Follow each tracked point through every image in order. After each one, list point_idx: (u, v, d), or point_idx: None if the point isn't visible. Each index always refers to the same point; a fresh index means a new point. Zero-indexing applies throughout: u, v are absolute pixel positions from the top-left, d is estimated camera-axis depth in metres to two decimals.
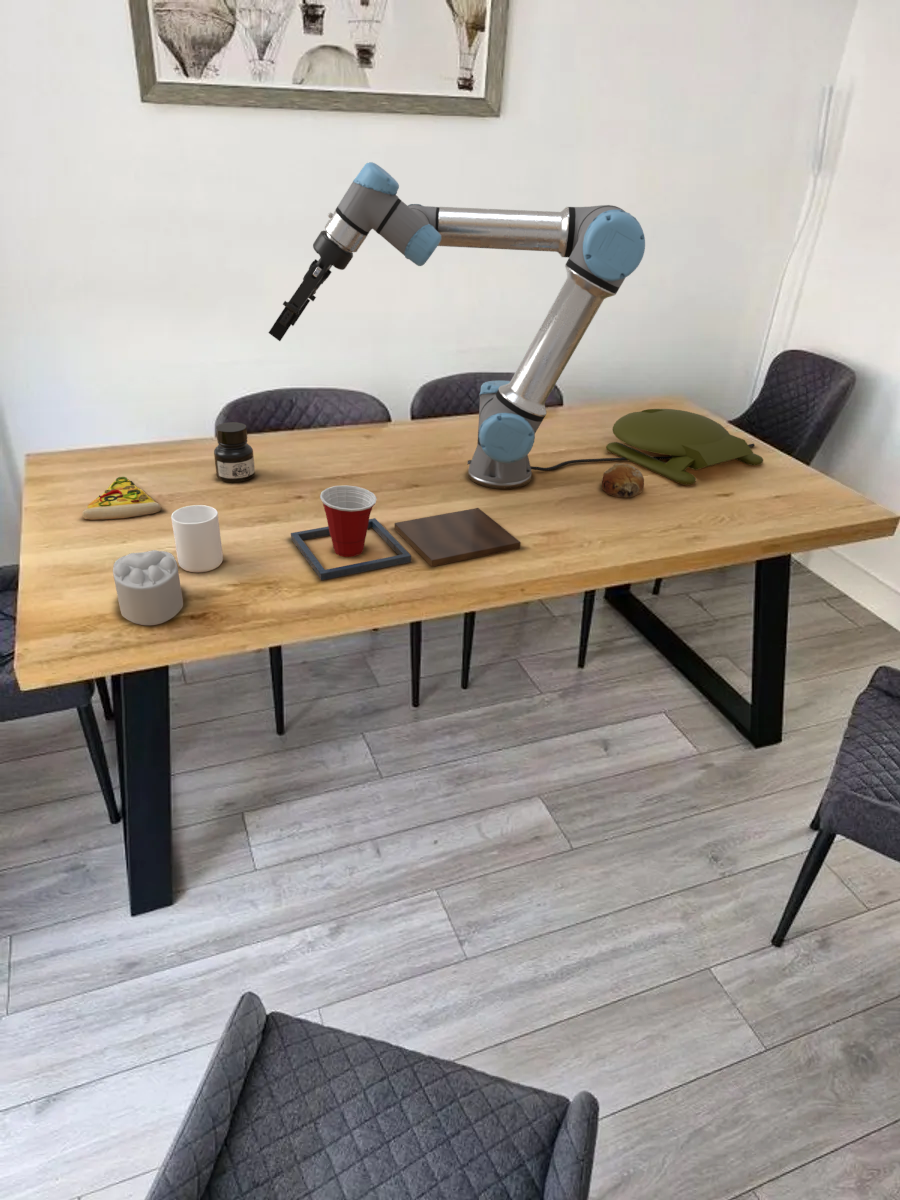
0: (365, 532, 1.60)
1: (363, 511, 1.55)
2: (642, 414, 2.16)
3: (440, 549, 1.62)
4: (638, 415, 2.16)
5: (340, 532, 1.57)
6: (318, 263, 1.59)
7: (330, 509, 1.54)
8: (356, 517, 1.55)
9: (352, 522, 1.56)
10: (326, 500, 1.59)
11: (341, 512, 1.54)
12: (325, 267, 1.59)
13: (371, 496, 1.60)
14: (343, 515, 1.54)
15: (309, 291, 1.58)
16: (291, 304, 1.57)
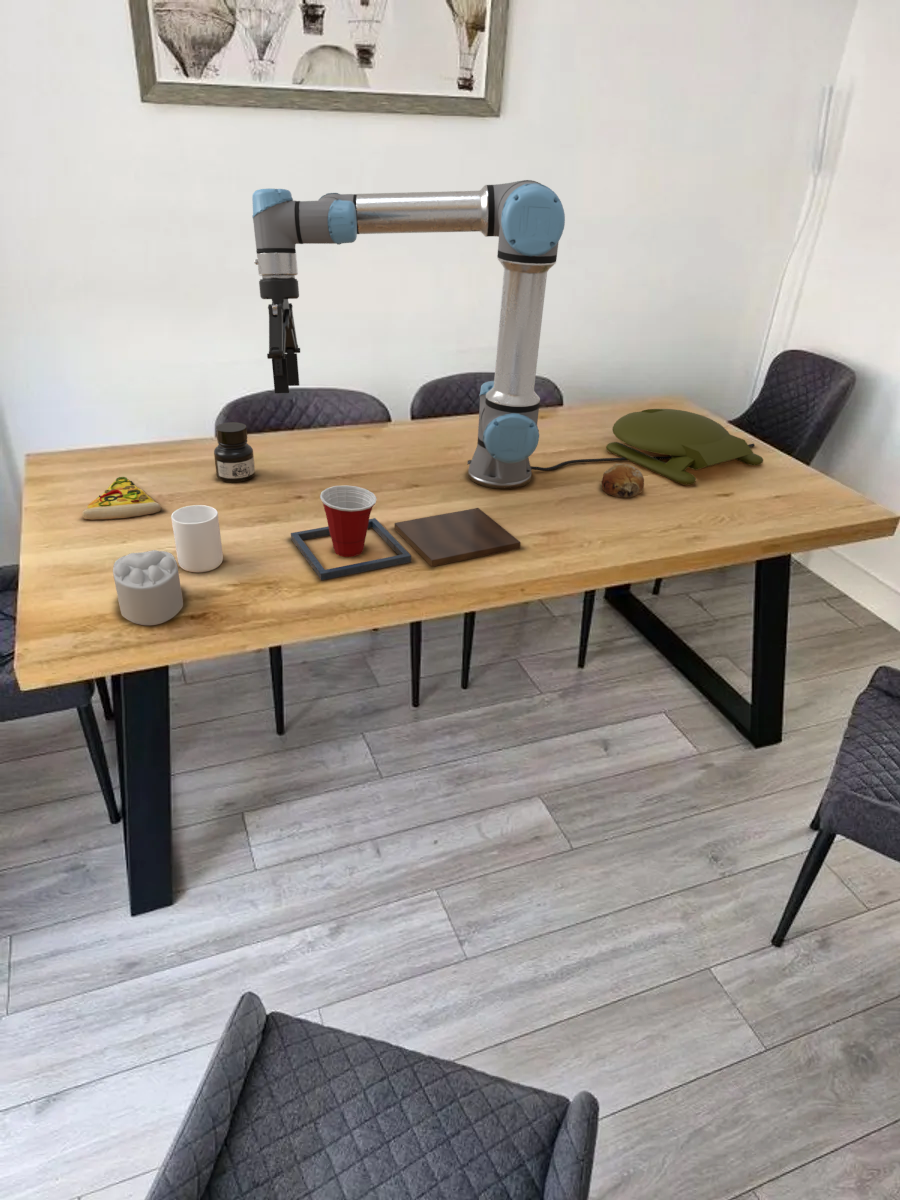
0: (365, 532, 1.60)
1: (363, 511, 1.55)
2: (642, 414, 2.16)
3: (440, 549, 1.62)
4: (638, 415, 2.16)
5: (340, 532, 1.57)
6: None
7: (330, 509, 1.54)
8: (356, 517, 1.55)
9: (352, 522, 1.56)
10: (326, 500, 1.59)
11: (341, 512, 1.54)
12: (280, 303, 1.58)
13: (371, 496, 1.60)
14: (343, 515, 1.54)
15: (279, 329, 1.56)
16: (272, 350, 1.55)
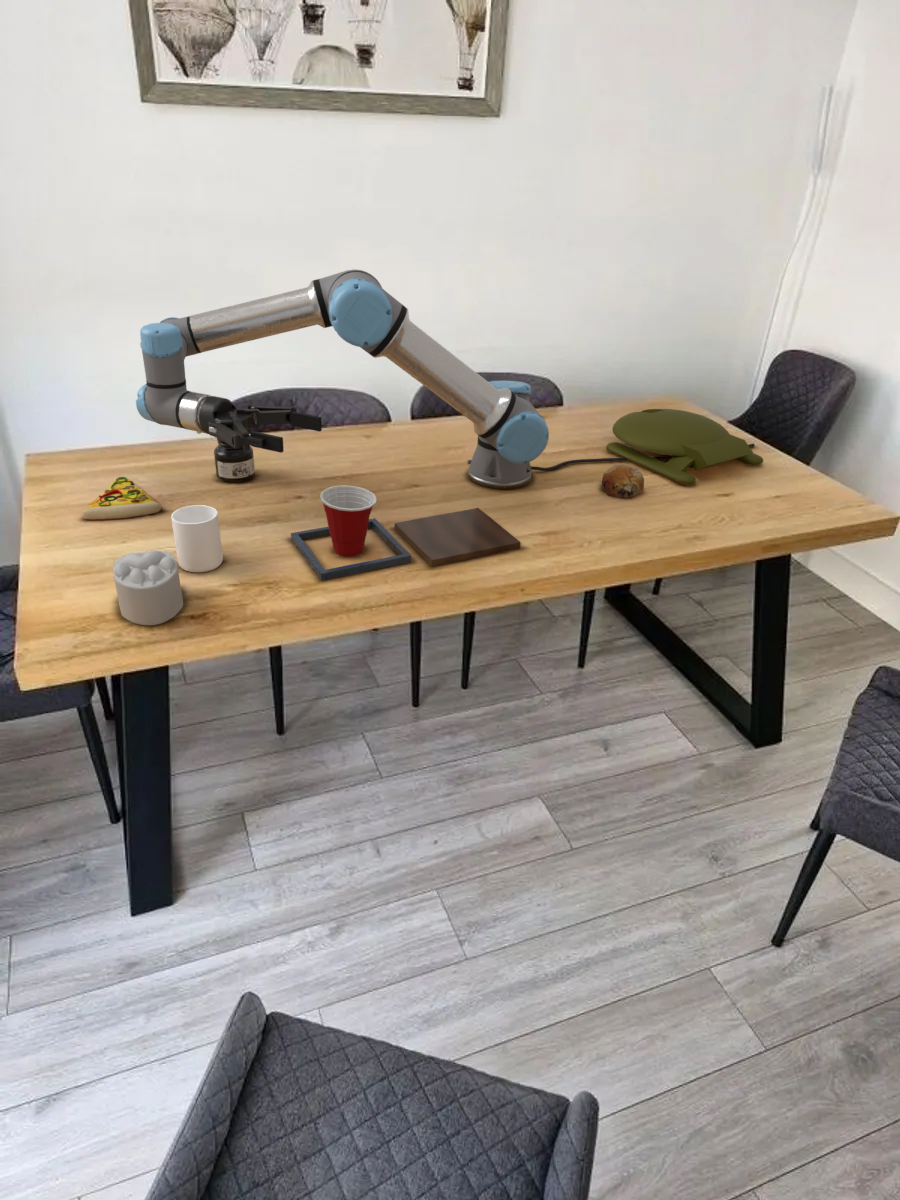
0: (365, 532, 1.60)
1: (363, 511, 1.55)
2: (642, 414, 2.16)
3: (440, 549, 1.62)
4: (638, 415, 2.16)
5: (340, 532, 1.57)
6: None
7: (330, 509, 1.54)
8: (356, 517, 1.55)
9: (352, 522, 1.56)
10: (326, 500, 1.59)
11: (341, 512, 1.54)
12: (217, 420, 1.57)
13: (371, 496, 1.60)
14: (343, 515, 1.54)
15: (222, 430, 1.52)
16: (234, 444, 1.50)
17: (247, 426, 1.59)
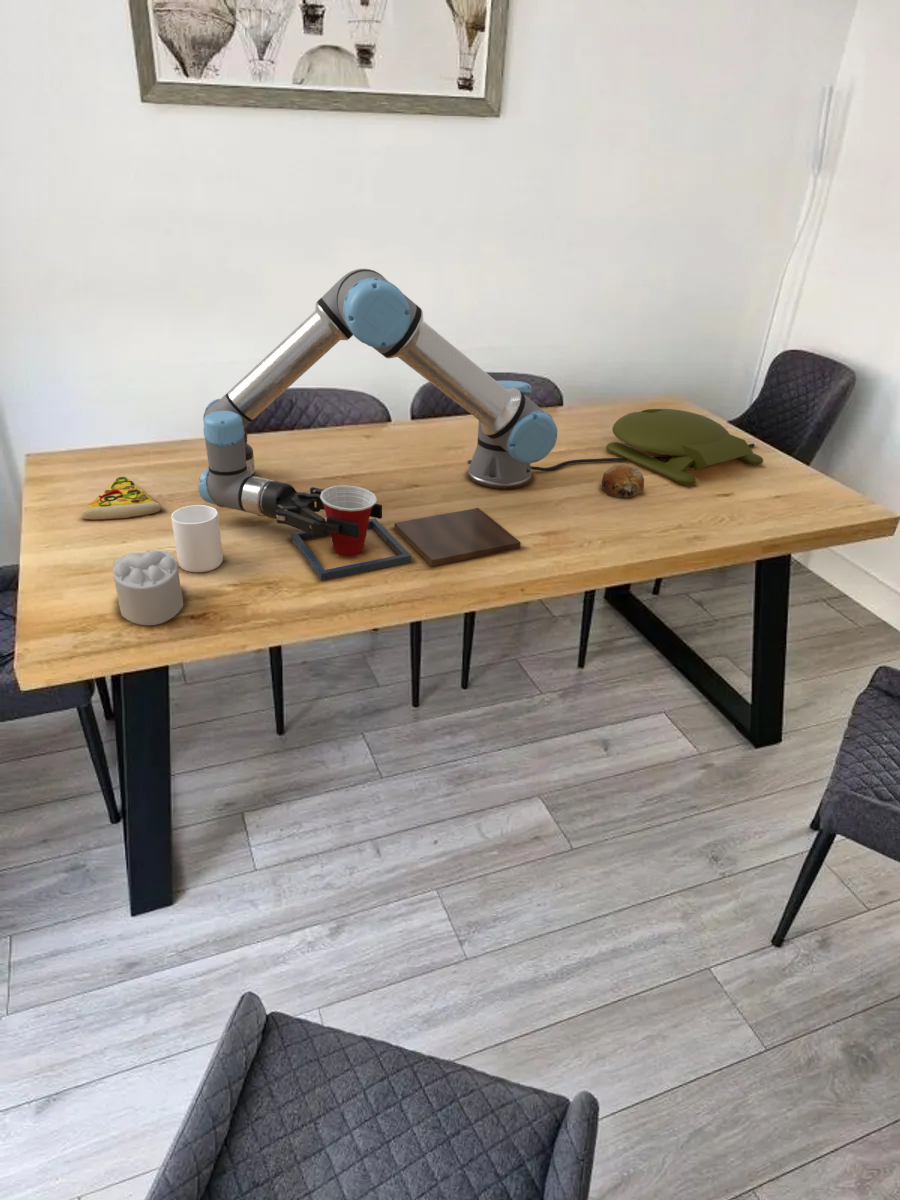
0: (365, 532, 1.60)
1: (363, 510, 1.55)
2: (642, 414, 2.16)
3: (440, 549, 1.62)
4: (638, 415, 2.16)
5: None
6: None
7: (330, 509, 1.54)
8: (356, 517, 1.55)
9: (352, 521, 1.56)
10: (326, 500, 1.59)
11: (341, 512, 1.54)
12: (279, 507, 1.60)
13: (371, 496, 1.60)
14: (343, 515, 1.54)
15: (295, 518, 1.56)
16: (311, 530, 1.54)
17: None
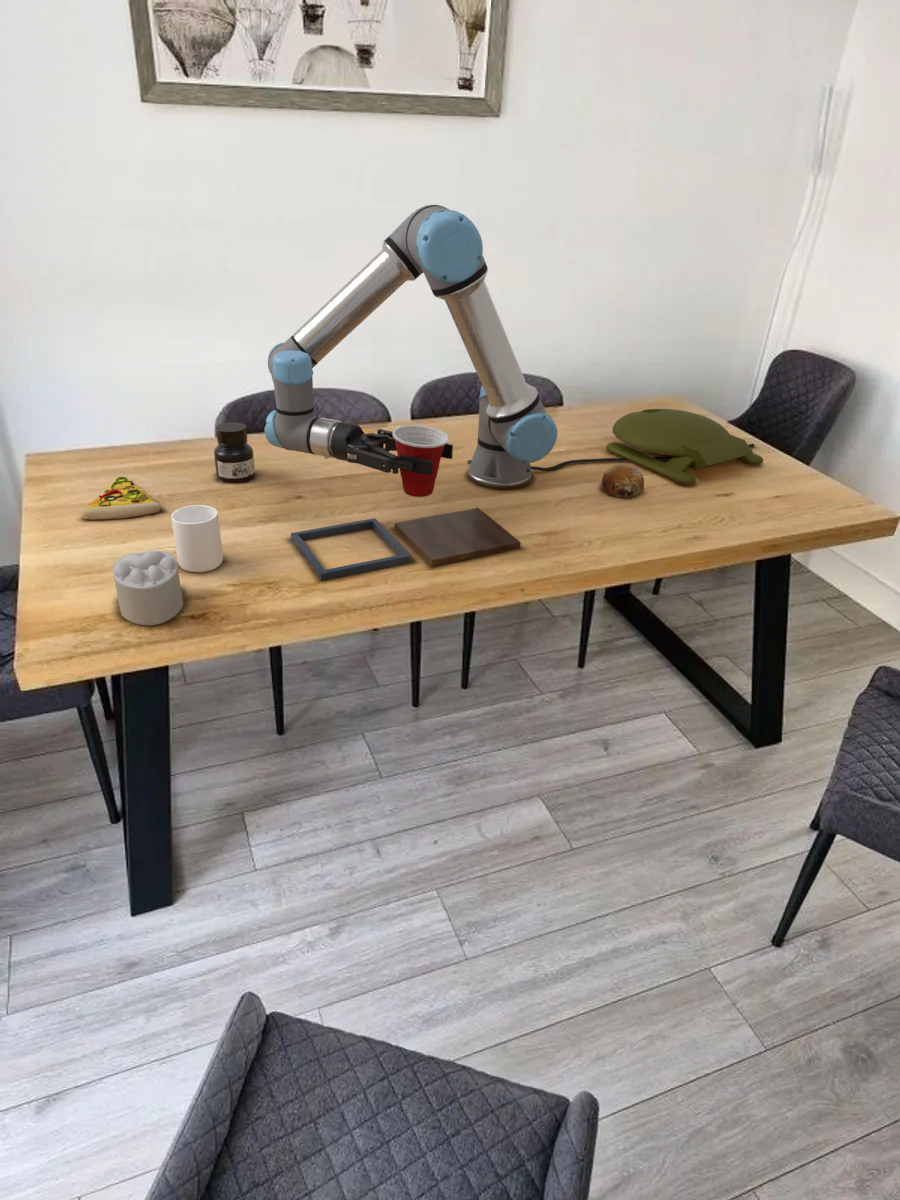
0: (436, 472, 1.58)
1: (437, 448, 1.53)
2: (642, 414, 2.16)
3: (440, 549, 1.62)
4: (638, 415, 2.16)
5: None
6: None
7: (403, 446, 1.53)
8: (429, 454, 1.53)
9: None
10: None
11: (415, 449, 1.52)
12: (350, 446, 1.58)
13: (442, 435, 1.58)
14: (417, 452, 1.53)
15: (367, 456, 1.54)
16: (384, 468, 1.53)
17: None
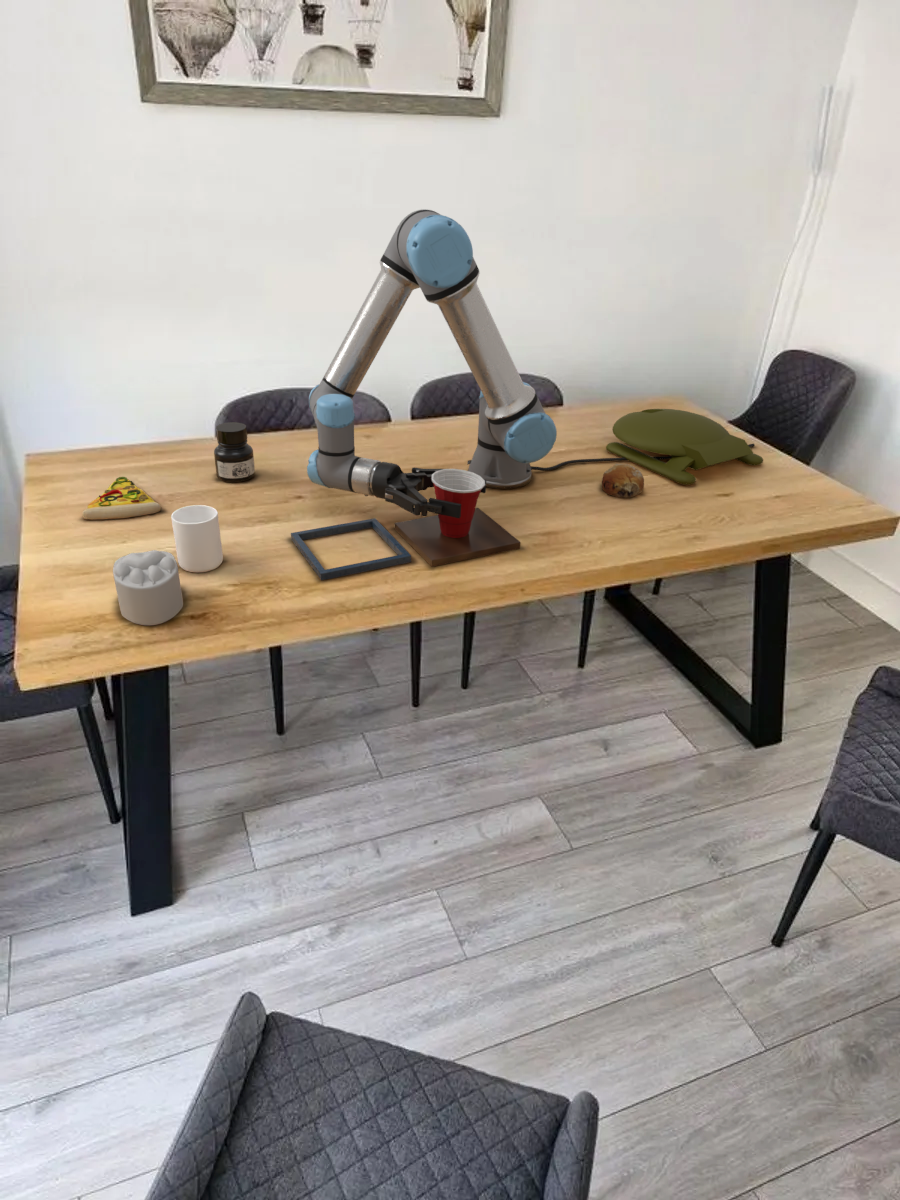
0: (473, 514, 1.65)
1: (474, 492, 1.60)
2: (642, 414, 2.16)
3: (440, 549, 1.62)
4: (638, 415, 2.16)
5: None
6: None
7: (442, 491, 1.60)
8: (467, 499, 1.61)
9: (463, 503, 1.61)
10: (435, 483, 1.64)
11: (454, 494, 1.59)
12: (390, 486, 1.65)
13: (478, 479, 1.65)
14: (455, 497, 1.60)
15: (401, 498, 1.60)
16: (414, 511, 1.58)
17: (417, 490, 1.67)
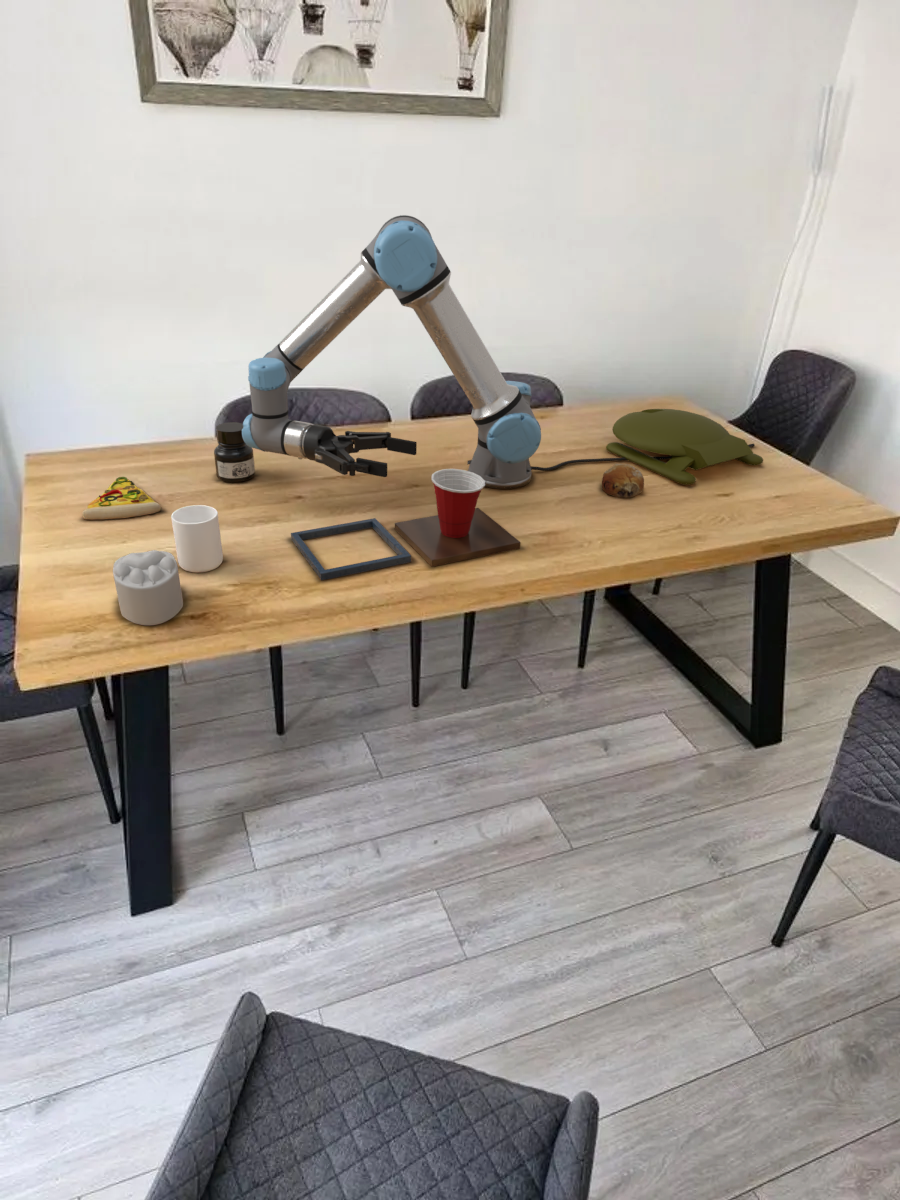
0: (473, 514, 1.65)
1: (474, 492, 1.60)
2: (642, 414, 2.16)
3: (440, 549, 1.62)
4: (638, 415, 2.16)
5: (450, 513, 1.63)
6: None
7: (442, 491, 1.60)
8: (467, 499, 1.61)
9: (463, 503, 1.61)
10: (435, 483, 1.64)
11: (454, 494, 1.59)
12: (321, 448, 1.68)
13: (478, 479, 1.65)
14: (455, 497, 1.60)
15: (329, 458, 1.63)
16: (341, 470, 1.61)
17: (348, 452, 1.70)
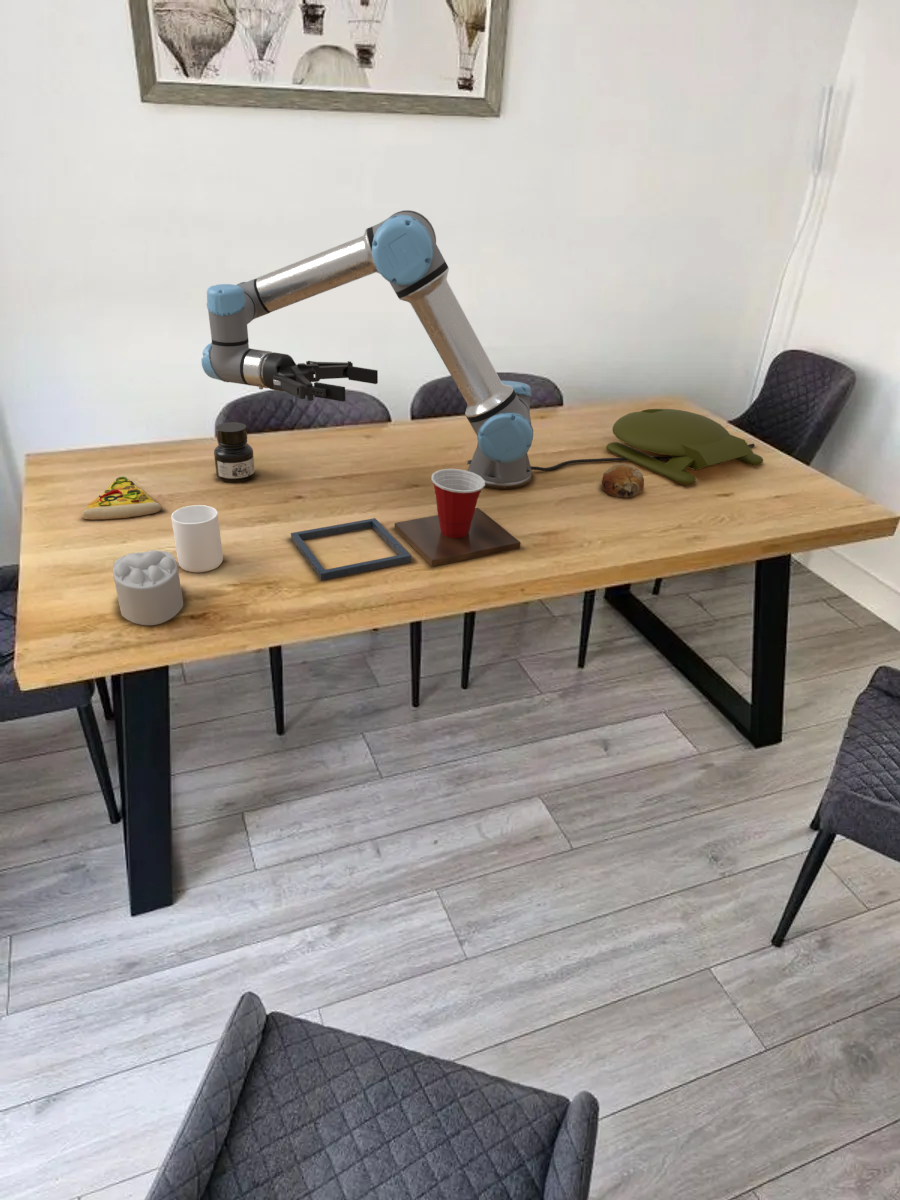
0: (473, 514, 1.65)
1: (474, 492, 1.60)
2: (642, 414, 2.16)
3: (440, 549, 1.62)
4: (638, 415, 2.16)
5: (450, 513, 1.63)
6: None
7: (442, 491, 1.60)
8: (467, 499, 1.61)
9: (463, 503, 1.61)
10: (435, 483, 1.64)
11: (454, 494, 1.59)
12: (280, 374, 1.66)
13: (478, 479, 1.65)
14: (455, 497, 1.60)
15: (287, 382, 1.61)
16: (299, 394, 1.59)
17: (308, 380, 1.68)
